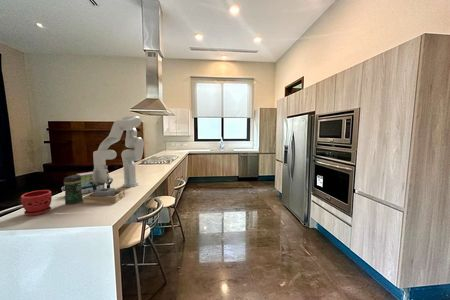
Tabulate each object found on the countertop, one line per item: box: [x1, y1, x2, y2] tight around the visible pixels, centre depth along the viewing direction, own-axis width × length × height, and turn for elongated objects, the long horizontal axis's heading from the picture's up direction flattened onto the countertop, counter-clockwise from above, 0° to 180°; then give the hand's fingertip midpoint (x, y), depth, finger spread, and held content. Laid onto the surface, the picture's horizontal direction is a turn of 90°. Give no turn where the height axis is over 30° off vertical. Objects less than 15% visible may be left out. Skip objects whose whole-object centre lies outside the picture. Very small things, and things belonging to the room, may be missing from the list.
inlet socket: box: [93, 187, 116, 197], centre depth 139 cm, size 9×9×7 cm
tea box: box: [75, 171, 98, 195], centre depth 164 cm, size 15×10×15 cm, turn 143°
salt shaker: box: [98, 183, 106, 190], centre depth 152 cm, size 5×5×10 cm
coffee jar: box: [63, 174, 83, 206], centre depth 136 cm, size 10×8×19 cm
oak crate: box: [82, 190, 125, 205], centre depth 140 cm, size 14×20×5 cm
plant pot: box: [20, 189, 53, 217], centre depth 120 cm, size 13×13×12 cm
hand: (101, 190), depth 152 cm, fingers open, 9 cm apart
